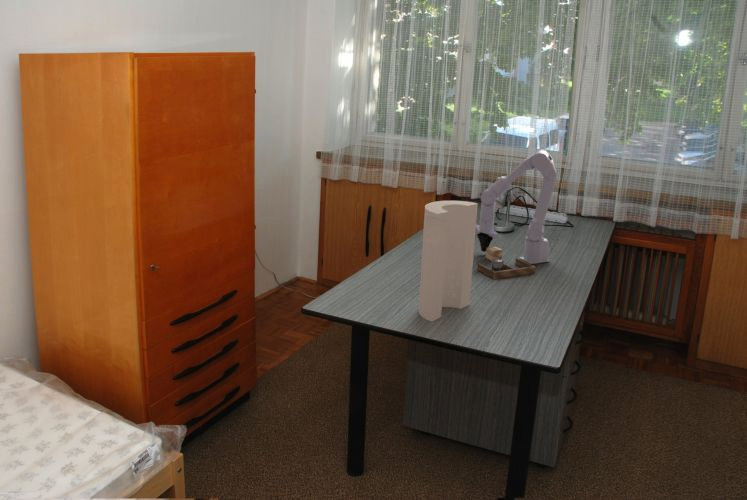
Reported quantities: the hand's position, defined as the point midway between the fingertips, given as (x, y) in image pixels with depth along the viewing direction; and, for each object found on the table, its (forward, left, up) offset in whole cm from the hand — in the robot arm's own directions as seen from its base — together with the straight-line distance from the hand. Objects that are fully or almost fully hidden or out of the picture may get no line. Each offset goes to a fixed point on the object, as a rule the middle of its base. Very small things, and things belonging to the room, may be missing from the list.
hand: (484, 250), depth 301 cm
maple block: (0, +7, -2) cm, 7 cm away
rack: (+4, +21, -1) cm, 22 cm away
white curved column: (+49, +45, -2) cm, 66 cm away
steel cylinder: (+9, +21, -1) cm, 23 cm away
